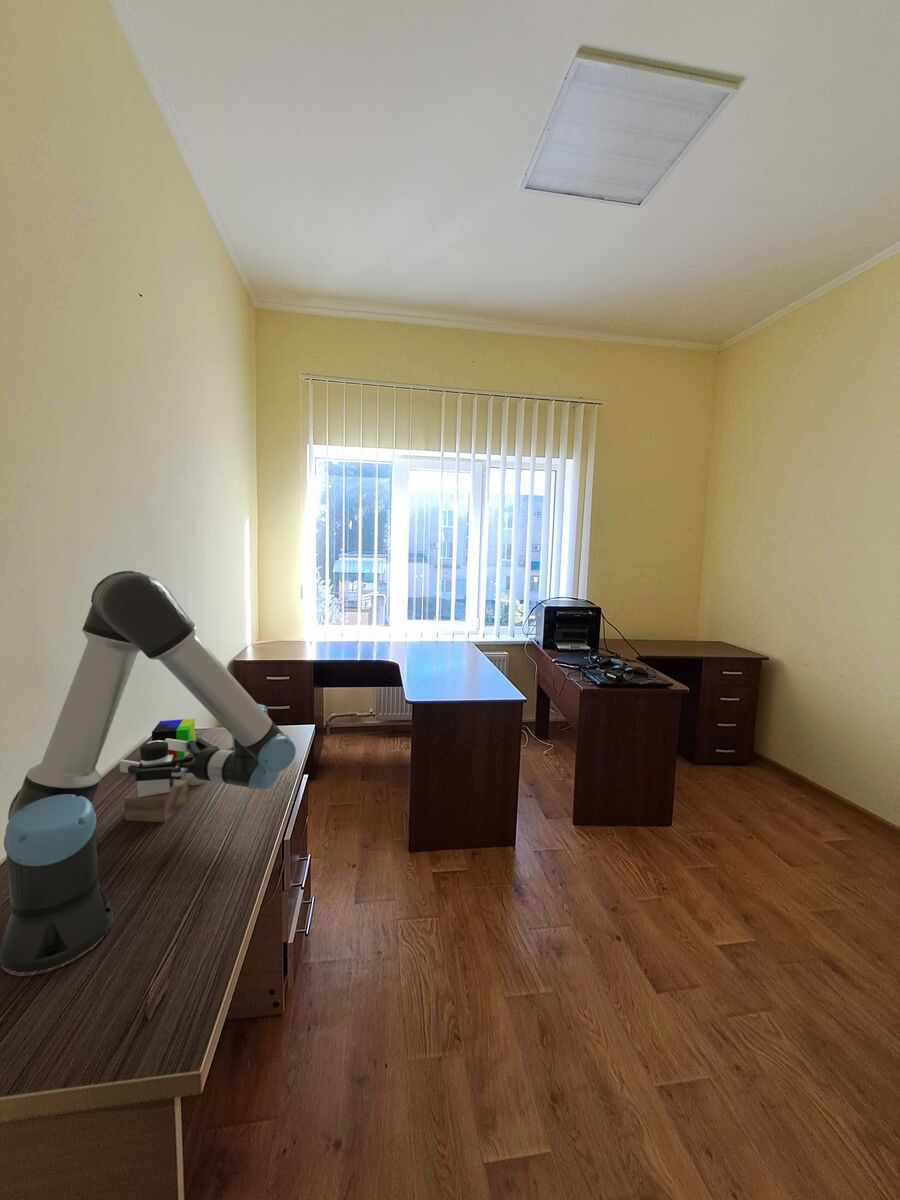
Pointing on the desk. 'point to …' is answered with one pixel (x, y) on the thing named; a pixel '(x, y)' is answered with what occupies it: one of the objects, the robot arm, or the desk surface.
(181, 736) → the puzzle toy
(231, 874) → the desk surface
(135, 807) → the walnut block
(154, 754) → the medicine bottle
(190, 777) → the plastic jar
